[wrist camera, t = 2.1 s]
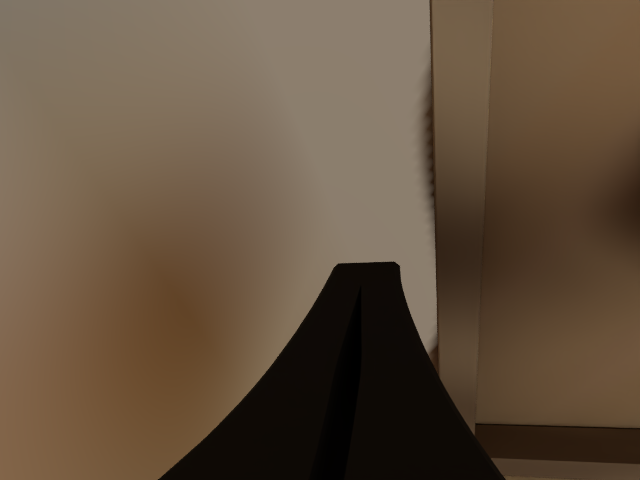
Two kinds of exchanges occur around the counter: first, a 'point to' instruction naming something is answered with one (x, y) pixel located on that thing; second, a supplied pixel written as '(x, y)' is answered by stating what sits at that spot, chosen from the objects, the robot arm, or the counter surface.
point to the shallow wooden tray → (466, 259)
